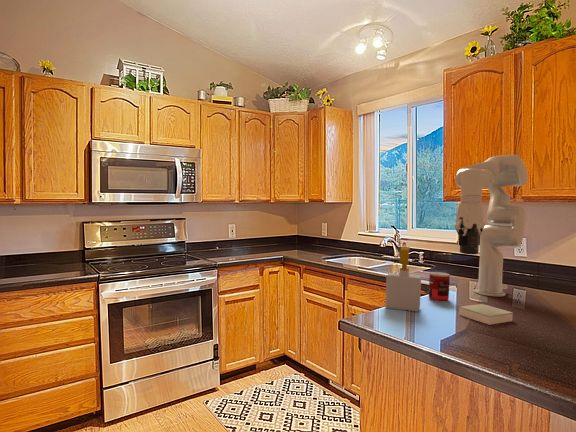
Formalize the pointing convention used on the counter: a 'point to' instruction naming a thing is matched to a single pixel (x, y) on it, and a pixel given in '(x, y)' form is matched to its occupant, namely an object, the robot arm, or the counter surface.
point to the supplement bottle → (471, 241)
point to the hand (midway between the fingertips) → (469, 245)
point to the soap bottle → (403, 287)
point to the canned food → (439, 286)
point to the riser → (486, 314)
